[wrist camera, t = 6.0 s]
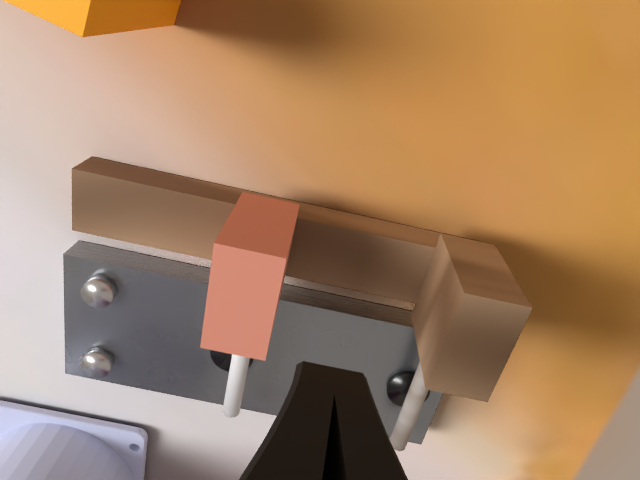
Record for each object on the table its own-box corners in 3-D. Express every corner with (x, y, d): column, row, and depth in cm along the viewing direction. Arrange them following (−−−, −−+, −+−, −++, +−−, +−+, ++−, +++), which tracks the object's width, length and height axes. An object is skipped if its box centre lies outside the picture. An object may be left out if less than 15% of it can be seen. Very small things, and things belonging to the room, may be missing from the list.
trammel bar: (413, 406, 23) (431, 517, 18) (90, 340, 22) (15, 437, 17) (484, 227, 19) (533, 307, 14) (92, 140, 18) (-4, 192, 13)
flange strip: (418, 423, 23) (422, 453, 22) (78, 355, 23) (59, 381, 21) (460, 321, 21) (468, 346, 19) (78, 240, 20) (56, 260, 19)
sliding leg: (257, 403, 21) (239, 485, 18) (211, 393, 21) (182, 475, 17) (299, 204, 17) (286, 258, 14) (242, 191, 17) (213, 243, 13)
